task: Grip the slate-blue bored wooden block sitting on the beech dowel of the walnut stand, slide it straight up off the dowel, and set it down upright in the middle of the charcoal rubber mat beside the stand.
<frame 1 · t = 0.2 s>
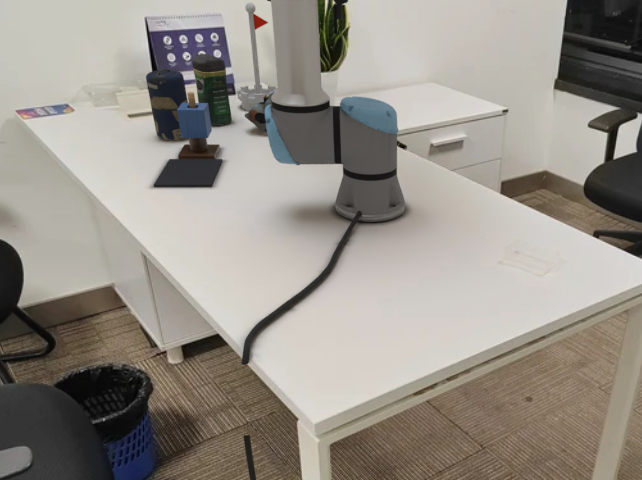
hand: (309, 32, 176), 28 cm above the table, tool pointing down, fingers open, 13 cm apart
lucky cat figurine: (276, 129, 199), on the table
flag stand: (260, 107, 218), on the table
canister: (175, 137, 190), on the table
coffee jar: (216, 122, 203), on the table
stand: (199, 154, 179), on the table
block: (196, 134, 176), point 5 cm above the table, touching stand
mat: (189, 173, 167), on the table
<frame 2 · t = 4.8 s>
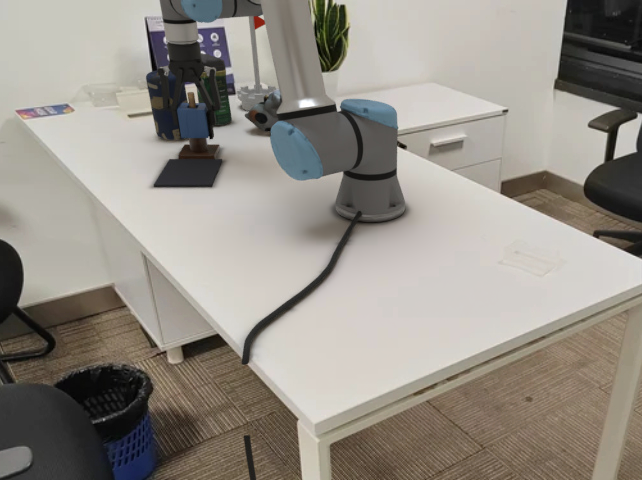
hand: (197, 137, 176), 4 cm above the table, tool pointing down, fingers closed on block, 6 cm apart
block: (196, 134, 176), point 5 cm above the table, touching gripper, stand
everything else where it was.
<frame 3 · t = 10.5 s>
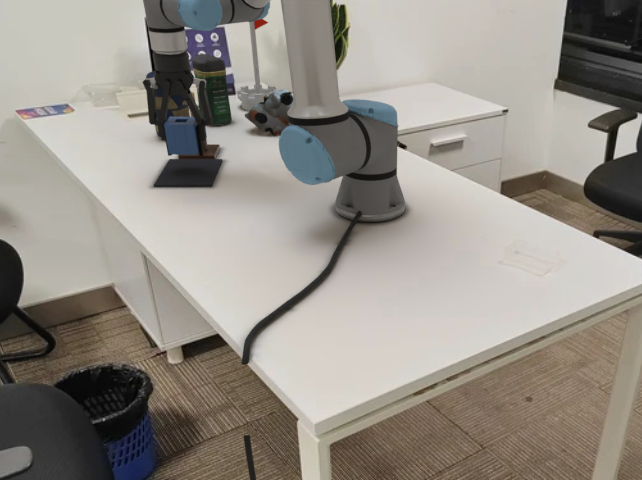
hand: (186, 153, 164), 5 cm above the table, tool pointing down, fingers closed on block, 6 cm apart
block: (185, 150, 164), point 6 cm above the table, touching gripper
everything else where it was.
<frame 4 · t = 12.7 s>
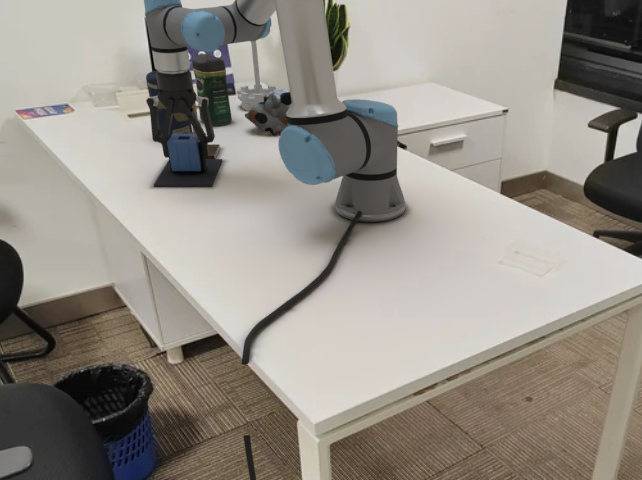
hand: (189, 169, 166), 1 cm above the table, tool pointing down, fingers closed on block, 6 cm apart
block: (188, 166, 166), point 2 cm above the table, touching gripper
everything else where it was.
when the fingers open (2 cm above the table, at t = 16.7 s): block drops 1 cm, resting on mat.
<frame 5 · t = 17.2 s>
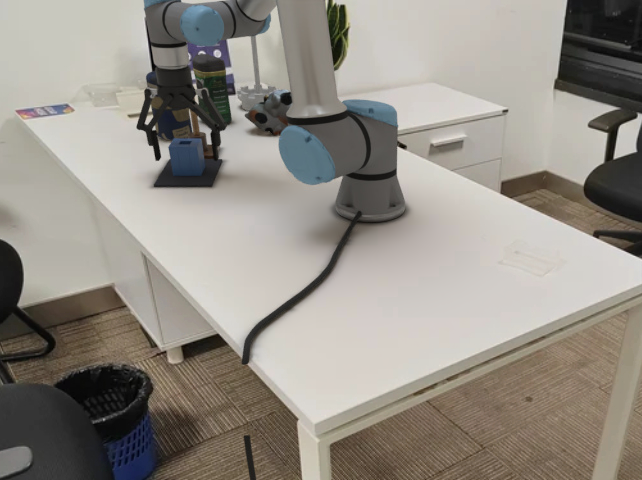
hand: (187, 159, 165), 4 cm above the table, tool pointing down, fingers open, 13 cm apart
block: (189, 171, 167), point 1 cm above the table, touching mat
everything else where it was.
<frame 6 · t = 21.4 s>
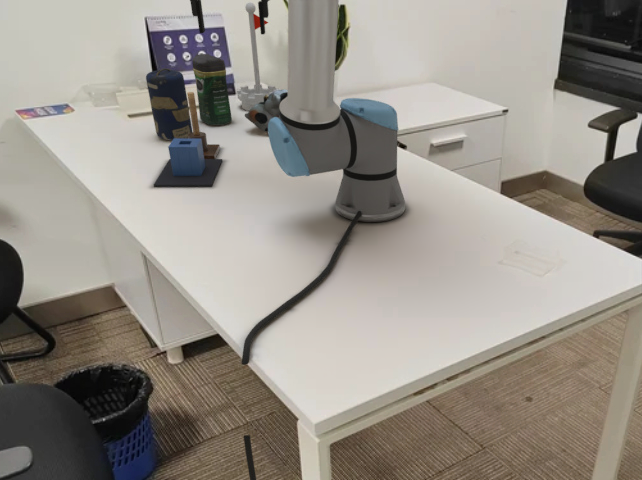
hand: (232, 32, 157), 31 cm above the table, tool pointing down, fingers open, 13 cm apart
nothing on the table moved.
at the end: block inside the target area on the mat (0.0 cm from its centre), point 0.6 cm above the mat's base; block tilted 0°; the gripper is holding nothing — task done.
